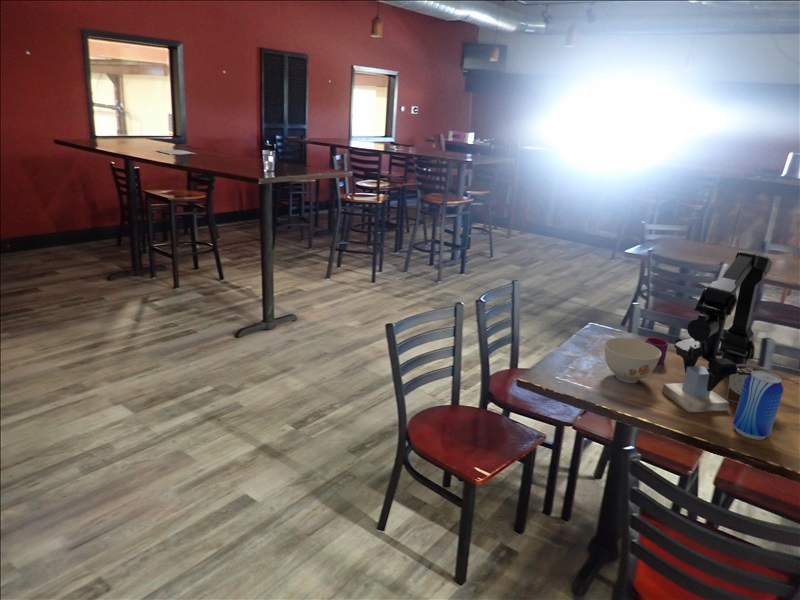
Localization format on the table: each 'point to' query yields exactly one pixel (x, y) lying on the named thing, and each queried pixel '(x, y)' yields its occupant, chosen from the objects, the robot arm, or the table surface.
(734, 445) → the table surface
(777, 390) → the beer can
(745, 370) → the food container
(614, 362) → the bowl
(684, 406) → the birch base
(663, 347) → the mug
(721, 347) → the robot arm
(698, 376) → the slate block
